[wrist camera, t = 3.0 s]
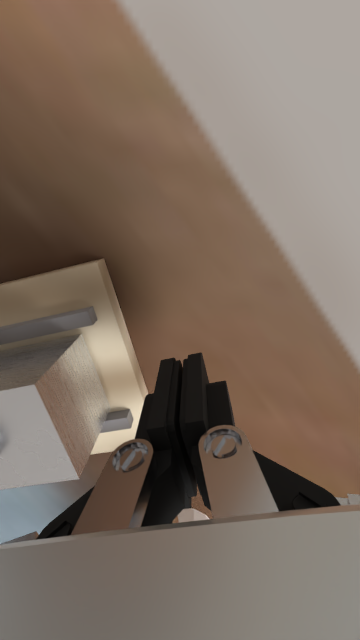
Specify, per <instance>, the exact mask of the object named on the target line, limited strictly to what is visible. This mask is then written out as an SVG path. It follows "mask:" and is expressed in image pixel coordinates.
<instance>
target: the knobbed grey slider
mask: <svg viewBox="0 0 360 640" xmlns="http://www.w3.org/2000/svg"><path fill="white" fill-rule="evenodd" d="M110 409H111V407H110V405H109V402H108V399H107V397H106V394H105V392H104V389H103V386H102V384H101V381H100V379H99V376H98V374H97V371H96V368H95V366H94V363H93V361H92V358H91V355H90V353H89V350H88V348H87V345H86V342H85V340H84V337H83V335H82V334H78V335H73V336H69V337H64V338H59V339H54V340H50V341H45V342H40V343H35V344H31V345H26V346H21V347H16V348H12V349H7V350H2V351H0V490H2V489H9V488H16V487H24V486H31V485H39V484H46V483H53V482H61V481H68V480H75V479H79V478H80V476H81V474H82V472H83V469H84V467H85V465H86V463H87V460H88V458H89V456H90V454H91V451H92V449H93V447H94V445H95V442H96V440H97V438H98V436H99V433H100V431H101V429H102V427H103V424H104V422H105V420H106V418H107V415H108V413H109V411H110Z"/></svg>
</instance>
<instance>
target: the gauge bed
mask: <svg viewBox="0 0 360 640" xmlns="http://www.w3.org/2000/svg"><path fill="white" fill-rule="evenodd" d="M78 334H82V335H83V337H84V340H85V342H86V345H87V348H88V350H89V353H90V355H91V358H92V361H93V363H94V366H95V368H96V371H97V374H98V376H99V379H100V381H101V384H102V386H103V389H104V392H105V394H106V397H107V399H108V402H109V405H110V407H111V409H110V411H109V413H108V415H107V418H106V420H105V422H104V424H103V427H102V429H101V431H100V433H99V436H98V438H97V440H96V442H95V445H94V447H93V449H92V451H91V454H97V453H104V452H111V451H114V450H115V449H116V448H117V447H118V446H120V445H121V444H123V443H124V442H127V441H129V440H132V439H135V435H136V431H137V427H138V423H139V419H140V416H141V412H142V408H143V404H144V400H145V397H146V395H147V394H148V391H147V388H146V385H145V382H144V379H143V376H142V373H141V370H140V367H139V364H138V361H137V358H136V355H135V352H134V349H133V345H132V342H131V339H130V336H129V333H128V330H127V327H126V324H125V321H124V318H123V315H122V312H121V309H120V306H119V303H118V300H117V297H116V294H115V291H114V287H113V284H112V281H111V278H110V275H109V272H108V269H107V266H106V263H105V260H104V258H103V259H99V260H95V261H91V262H87V263H82V264H78V265H74V266H70V267H66V268H62V269H58V270H54V271H50V272H46V273H42V274H38V275H34V276H30V277H26V278H22V279H17V280H13V281H9V282H5V283H1V284H0V351H2V350H7V349H12V348H16V347H21V346H26V345H31V344H35V343H40V342H45V341H50V340H54V339H59V338H64V337H69V336H73V335H78Z"/></svg>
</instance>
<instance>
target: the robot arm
mask: <svg viewBox="0 0 360 640" xmlns="http://www.w3.org/2000/svg"><path fill="white" fill-rule="evenodd" d="M197 485H198V488H199V492H200V495H202V499H203V502H204V505H205V506H206V507H207V508H208V509H210V510H211V511H212V515H213V519H207V520H198V521H189V522H180V523H179V520H178V514H179V513H180V512H181V511H182V510H183V509H189V508H191V497H193V496H196V495H197ZM347 497H348V499H347V498H337V497H334V496H333V495H332V494H331V493H329V492H328V491H327V490H325V489H324V488H322V487H320V486H318V485H316V484H315V483H313V482H311V481H309V480H307V479H305V478H303V477H302V476H300V475H298V474H296V473H294V472H292V471H290V470H289V469H287V468H285V467H283V466H281V465H279V464H277V463H276V462H274V461H272V460H270V459H268V458H266V457H265V456H263V455H261V454H259V453H257V452H255V451H253V450H252V448H251V446H250V444H249V441H248V439H247V437H246V435H245V434H244V432H243V431H242V430H240V429H239V428H237V427H235V423H234V417H233V412H232V407H231V402H230V397H229V393H228V388H227V384H226V381H220V382H215V383H209V380H208V376H207V372H206V368H205V364H204V360H203V356H202V353H196V354H191V355H188V359H184V361H183V367H182V364H181V361H180V360H178V361H176V360H175V358H170V359H165V360H161V363H160V367H159V372H158V377H157V381H156V386H155V391H154V393H153V394H147V395H146V397H145V400H144V404H143V408H142V412H141V416H140V419H139V423H138V427H137V431H136V435H135V439H132V440H129V441H127V442H124V443H123V444H121V445H120V446H118V447H117V448H116V449H115V450H114V451H113V452H112V454H111V455H110V457H109V459H108V461H107V463H106V465H105V467H104V469H103V471H102V473H101V475H100V477H99V479H98V481H97V483H96V485H95V486H94V487H93V488H92V489H90V490H89V491H88V492H87V493H86V494H84V495H83V496H82V497H81V498H79V499H78V500H77V501H76V502H75V503H73V504H72V505H71V506H70V507H69V508H67V509H66V510H65V511H64V512H62V513H61V514H60V515H59V516H58V517H56V518H55V519H54V520H53V521H52V522H50V523H49V524H48V525H47V526H46V527H45V528H44V529H43V530H42V532H41V533H40V535H38V533H37V532H33V533H30V534H27V535H25V536H22V537H19V538H16V539H13V540H11V541H8V542H5V543H2V544H0V640H360V495H354V494H347Z"/></svg>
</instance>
